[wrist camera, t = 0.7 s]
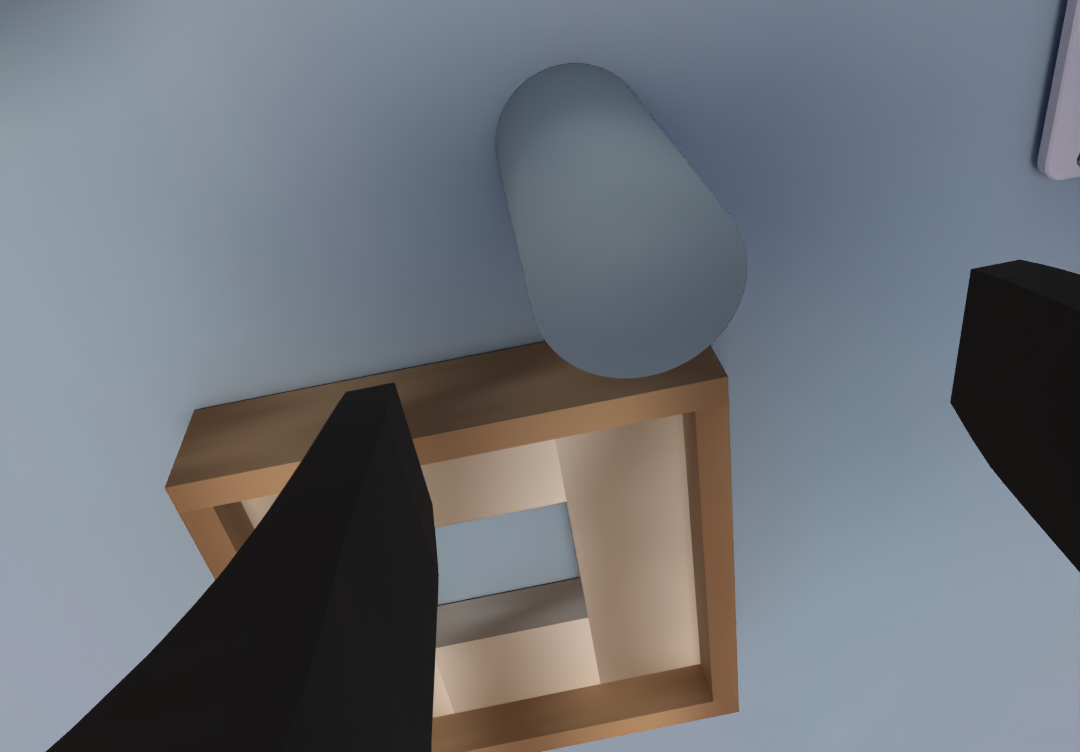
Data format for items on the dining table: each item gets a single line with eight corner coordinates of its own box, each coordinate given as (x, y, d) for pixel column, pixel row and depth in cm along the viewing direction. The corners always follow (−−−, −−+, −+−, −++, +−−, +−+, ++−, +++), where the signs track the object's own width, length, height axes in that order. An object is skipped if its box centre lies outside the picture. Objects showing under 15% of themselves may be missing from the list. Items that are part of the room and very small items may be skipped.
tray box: (692, 312, 22) (727, 376, 19) (711, 634, 29) (738, 711, 26) (194, 410, 21) (164, 488, 19) (340, 709, 29) (332, 793, 26)
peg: (638, 49, 18) (745, 160, 12) (651, 198, 20) (748, 356, 14) (481, 79, 18) (512, 205, 12) (509, 226, 20) (547, 395, 14)
